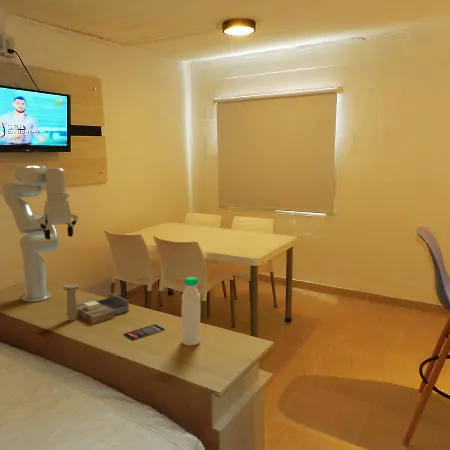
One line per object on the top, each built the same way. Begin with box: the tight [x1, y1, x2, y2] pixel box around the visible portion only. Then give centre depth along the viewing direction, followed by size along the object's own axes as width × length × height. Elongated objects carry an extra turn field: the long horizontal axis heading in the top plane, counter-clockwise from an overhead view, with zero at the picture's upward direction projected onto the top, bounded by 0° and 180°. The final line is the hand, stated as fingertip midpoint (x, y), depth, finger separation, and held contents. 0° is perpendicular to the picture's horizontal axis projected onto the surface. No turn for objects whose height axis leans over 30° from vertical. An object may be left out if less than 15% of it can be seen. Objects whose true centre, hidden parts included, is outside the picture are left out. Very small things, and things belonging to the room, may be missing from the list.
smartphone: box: [123, 323, 165, 342], centre depth 163 cm, size 7×1×15 cm
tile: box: [84, 300, 100, 311], centre depth 181 cm, size 5×5×2 cm
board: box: [77, 299, 115, 325], centre depth 181 cm, size 20×10×3 cm, turn 46°
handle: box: [62, 283, 80, 322], centre depth 174 cm, size 5×6×15 cm
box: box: [95, 292, 129, 317], centre depth 187 cm, size 16×8×5 cm, turn 46°
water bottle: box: [181, 276, 201, 347], centre depth 153 cm, size 7×7×25 cm
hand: (59, 237), depth 176 cm, fingers open, 9 cm apart
